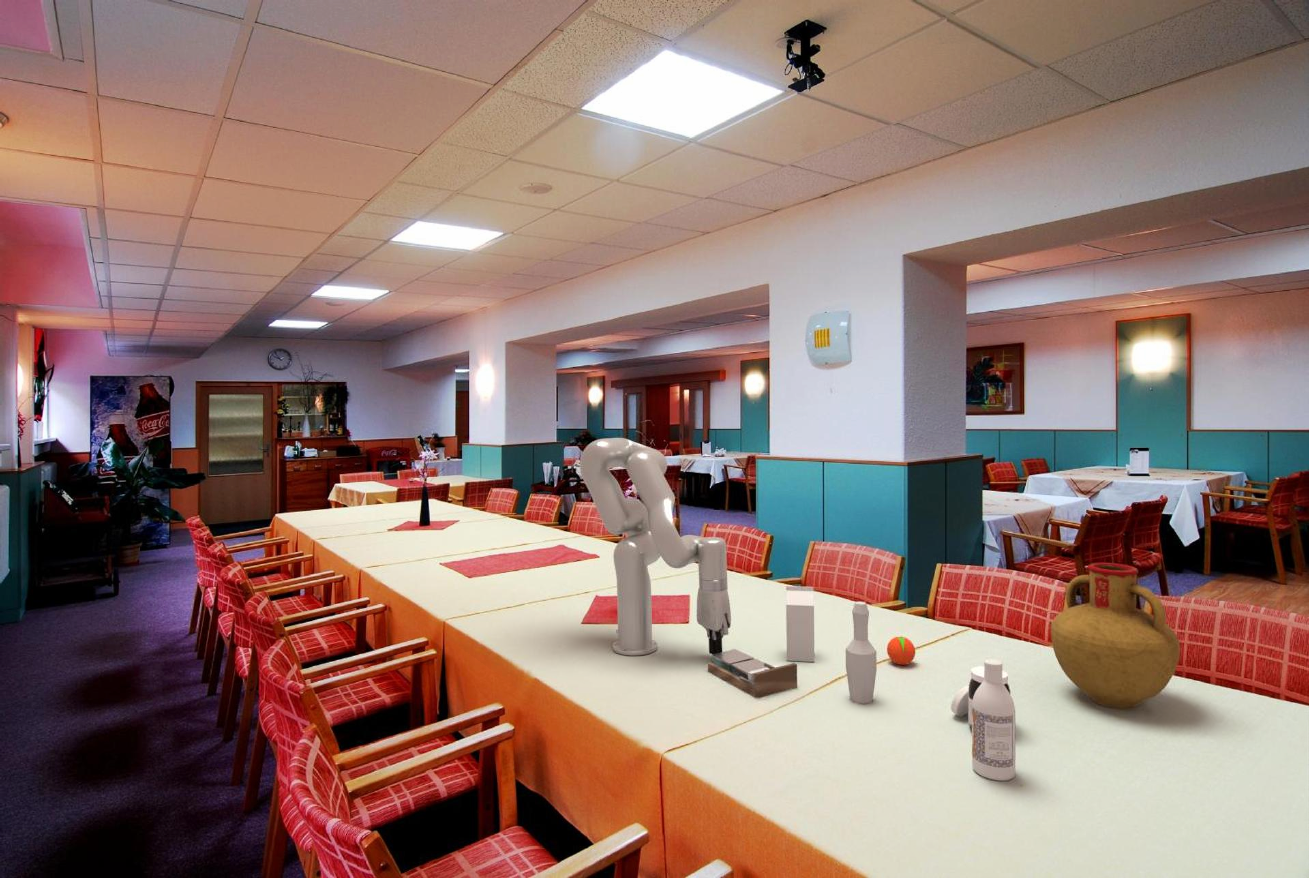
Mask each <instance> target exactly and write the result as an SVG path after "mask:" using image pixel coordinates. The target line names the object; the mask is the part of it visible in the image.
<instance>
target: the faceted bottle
mask: <svg viewBox="0 0 1309 878" xmlns="http://www.w3.org/2000/svg"><path fill="white" fill-rule="evenodd" d="M851 611H852V620H853V621H852V622H853V623H852V624H853V638H852V640H850V643H849V644H848V645H847V646H846V647H845V672H846V677H847V684H848V692H849V699H851V700H852V701H853V702H854V703H858V704H861V705H862V704H870V703H871V702H872V701H874V692H875V685H876V677H877V667H878V666H877V661H878V660H877V650H876V649H875V647H874V645H873V644H872V643H871V641H870V640H869V618H870V611H869V609H868V605H867V602H865V601H856V602H854V605H853V608H852V610H851Z"/></svg>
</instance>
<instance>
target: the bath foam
mask: <svg viewBox="0 0 1309 878" xmlns="http://www.w3.org/2000/svg"><path fill="white" fill-rule="evenodd" d="M983 664H984V665H983V666H984V681H983V682H982V684H981V685H980V686H979V687H978V689H977V690H976V692H975V694H974V697H973V701H972V728H971V757H972V759H971V761H972V763H971V764H972V768H973V770H974V771H975V772H976V774H978V775H980V776H981V777H983V778H986V779H988V780H989V779H990V780H993V781H1001V782H1003V781H1009V780H1012V779H1013V778H1014V777H1015V776H1016V707H1015V703H1014V700H1013V698H1012V695H1011V692H1010V693H1009V692H1008V690H1007V689H1006V687H1005V686H1004V684H1003V683H1002V670H1003V663H1002V661H1000V660H998V659H994V658H993V659H992V658H989V659H987V658H986V659H985V660H984V662H983Z"/></svg>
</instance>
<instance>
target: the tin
mask: <svg viewBox="0 0 1309 878" xmlns="http://www.w3.org/2000/svg"><path fill="white" fill-rule="evenodd" d="M753 659H755V658H754V656H751V655H749V654H747V653H744V652H743V651H740V650H738V649H735V648H734V649H731V650H727V651H722V652H721V653H717V654H711V663H713V664H715V665H717V666H719V667H721V668H722V669H724V670H726V671H728V672H730V673H732V666H731V664H735V663H739V662H744V661H749V660H753Z"/></svg>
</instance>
